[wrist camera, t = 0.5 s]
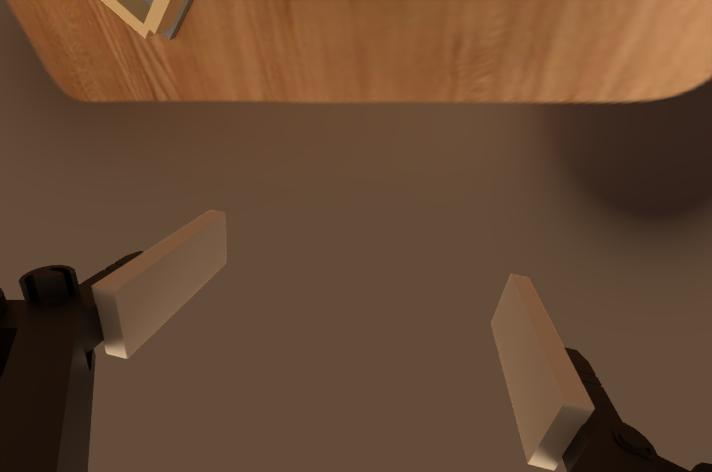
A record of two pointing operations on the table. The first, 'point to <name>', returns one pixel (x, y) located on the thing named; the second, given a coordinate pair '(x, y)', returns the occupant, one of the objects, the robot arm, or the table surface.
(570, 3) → the table surface
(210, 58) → the table surface
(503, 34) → the table surface
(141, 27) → the shallow square tray
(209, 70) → the table surface
